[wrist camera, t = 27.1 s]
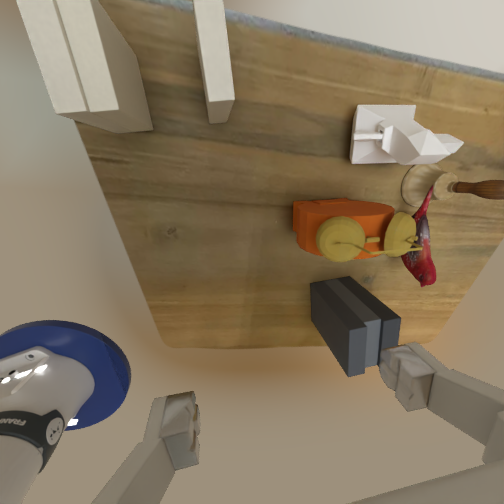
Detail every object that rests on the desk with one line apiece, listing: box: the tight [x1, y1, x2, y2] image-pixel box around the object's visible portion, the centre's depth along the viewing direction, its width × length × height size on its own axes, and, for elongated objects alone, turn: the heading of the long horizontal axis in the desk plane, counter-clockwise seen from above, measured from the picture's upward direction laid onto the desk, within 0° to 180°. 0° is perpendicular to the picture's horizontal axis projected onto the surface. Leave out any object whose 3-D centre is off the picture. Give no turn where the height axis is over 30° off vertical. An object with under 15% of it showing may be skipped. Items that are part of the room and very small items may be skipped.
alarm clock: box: [293, 198, 423, 262], centre depth 35 cm, size 13×6×20 cm, turn 92°
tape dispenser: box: [349, 105, 464, 165], centre depth 35 cm, size 8×14×14 cm, turn 92°
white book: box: [192, 0, 235, 124], centre depth 29 cm, size 3×9×14 cm, turn 7°
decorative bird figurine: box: [401, 185, 436, 287], centre depth 43 cm, size 3×18×10 cm, turn 3°
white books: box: [16, 0, 153, 134], centre depth 27 cm, size 5×9×15 cm, turn 7°
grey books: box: [310, 276, 401, 377], centre depth 44 cm, size 8×9×15 cm
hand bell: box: [401, 163, 504, 207], centre depth 38 cm, size 8×8×16 cm
